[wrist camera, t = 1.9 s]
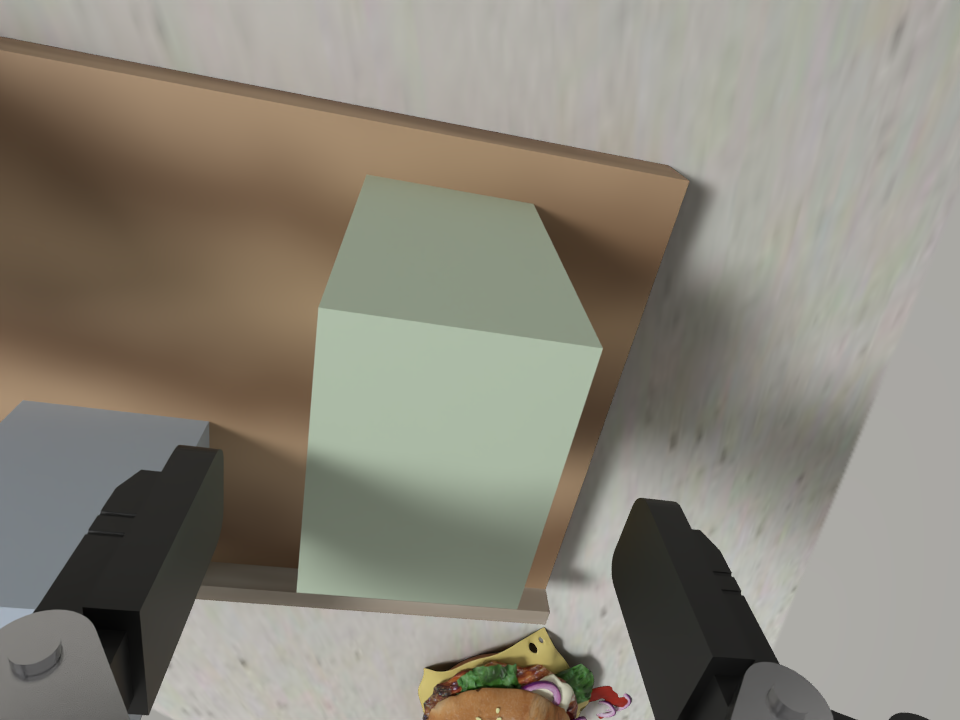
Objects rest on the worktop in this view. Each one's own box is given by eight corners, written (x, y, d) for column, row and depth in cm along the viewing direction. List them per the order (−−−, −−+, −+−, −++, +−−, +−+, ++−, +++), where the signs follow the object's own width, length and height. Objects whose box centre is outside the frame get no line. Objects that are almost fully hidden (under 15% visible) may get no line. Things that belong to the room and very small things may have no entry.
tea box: (345, 377, 22) (296, 592, 14) (366, 174, 18) (318, 307, 11) (491, 396, 22) (523, 609, 15) (538, 204, 19) (611, 349, 11)
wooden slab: (-78, 21, 17) (-174, 26, 15) (668, 165, 21) (704, 191, 18) (27, 526, 27) (-19, 588, 24) (533, 570, 30) (543, 629, 27)
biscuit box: (23, 400, 21) (-174, 595, 14) (209, 421, 22) (108, 614, 15) (47, 532, 24) (-105, 746, 17) (211, 546, 25) (127, 755, 18)
